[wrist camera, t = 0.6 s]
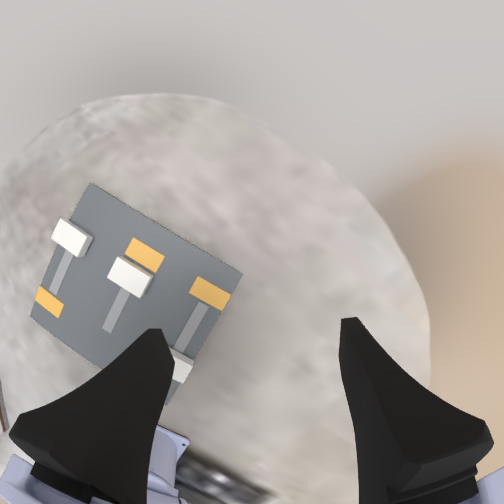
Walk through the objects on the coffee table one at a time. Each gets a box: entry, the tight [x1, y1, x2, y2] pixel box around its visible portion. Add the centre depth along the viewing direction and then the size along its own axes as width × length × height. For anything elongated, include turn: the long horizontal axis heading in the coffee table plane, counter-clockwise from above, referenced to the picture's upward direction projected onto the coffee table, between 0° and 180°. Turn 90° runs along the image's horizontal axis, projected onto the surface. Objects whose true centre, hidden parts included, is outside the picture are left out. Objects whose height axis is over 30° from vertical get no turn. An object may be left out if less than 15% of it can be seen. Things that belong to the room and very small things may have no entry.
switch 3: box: [169, 347, 194, 384], centre depth 29 cm, size 2×4×2 cm, turn 60°
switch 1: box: [51, 218, 93, 257], centre depth 27 cm, size 2×4×2 cm, turn 60°
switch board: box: [30, 183, 243, 405], centre depth 30 cm, size 18×20×1 cm
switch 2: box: [107, 256, 154, 298], centre depth 28 cm, size 2×4×2 cm, turn 60°
